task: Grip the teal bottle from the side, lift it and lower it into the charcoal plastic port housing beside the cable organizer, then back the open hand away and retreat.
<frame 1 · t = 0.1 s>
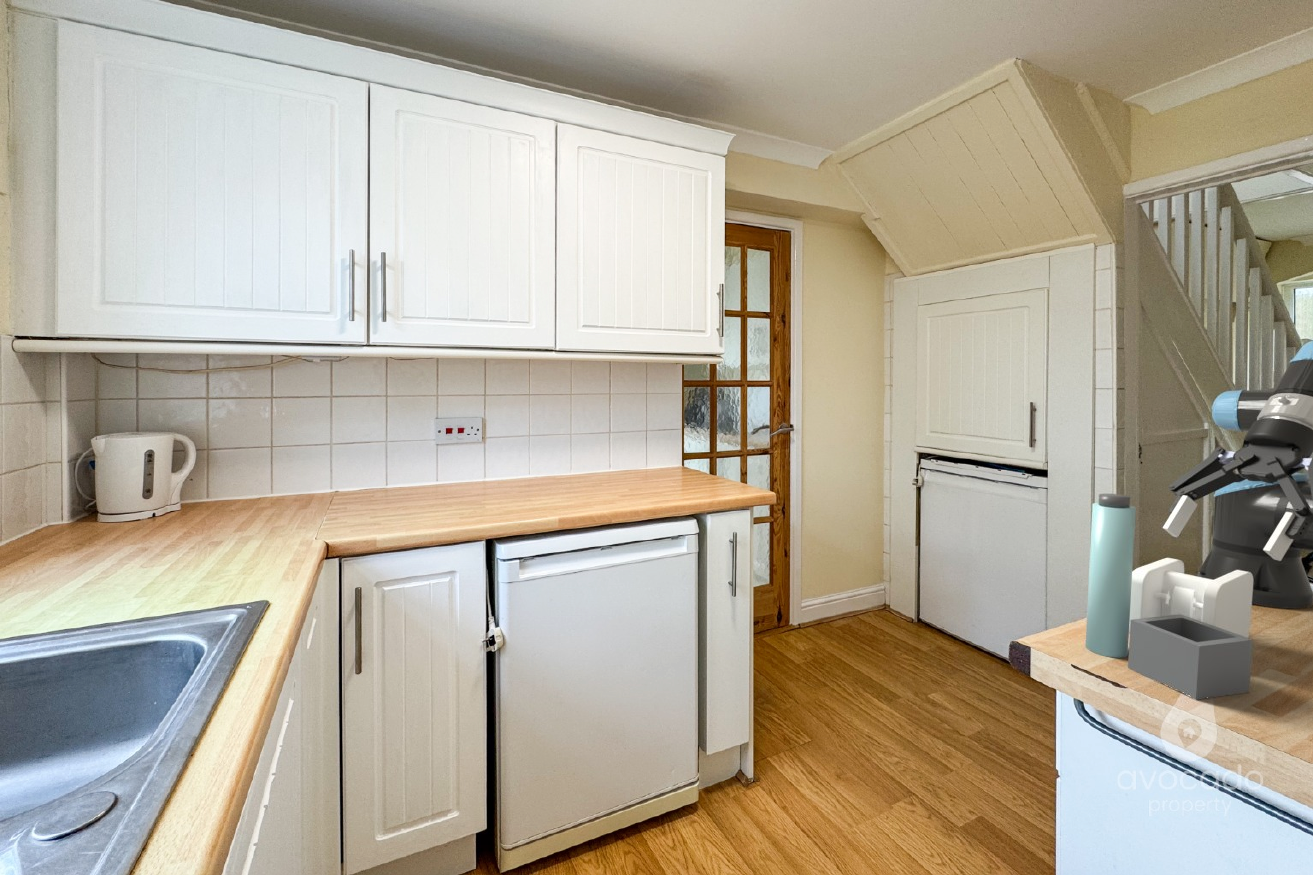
hand: (1216, 543, 89), 15 cm above the table, tool tilted 35°, fingers open, 13 cm apart
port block: (1185, 679, 78), on the table
teal bottle: (1106, 649, 87), on the table
cable organizer: (1185, 643, 89), on the table
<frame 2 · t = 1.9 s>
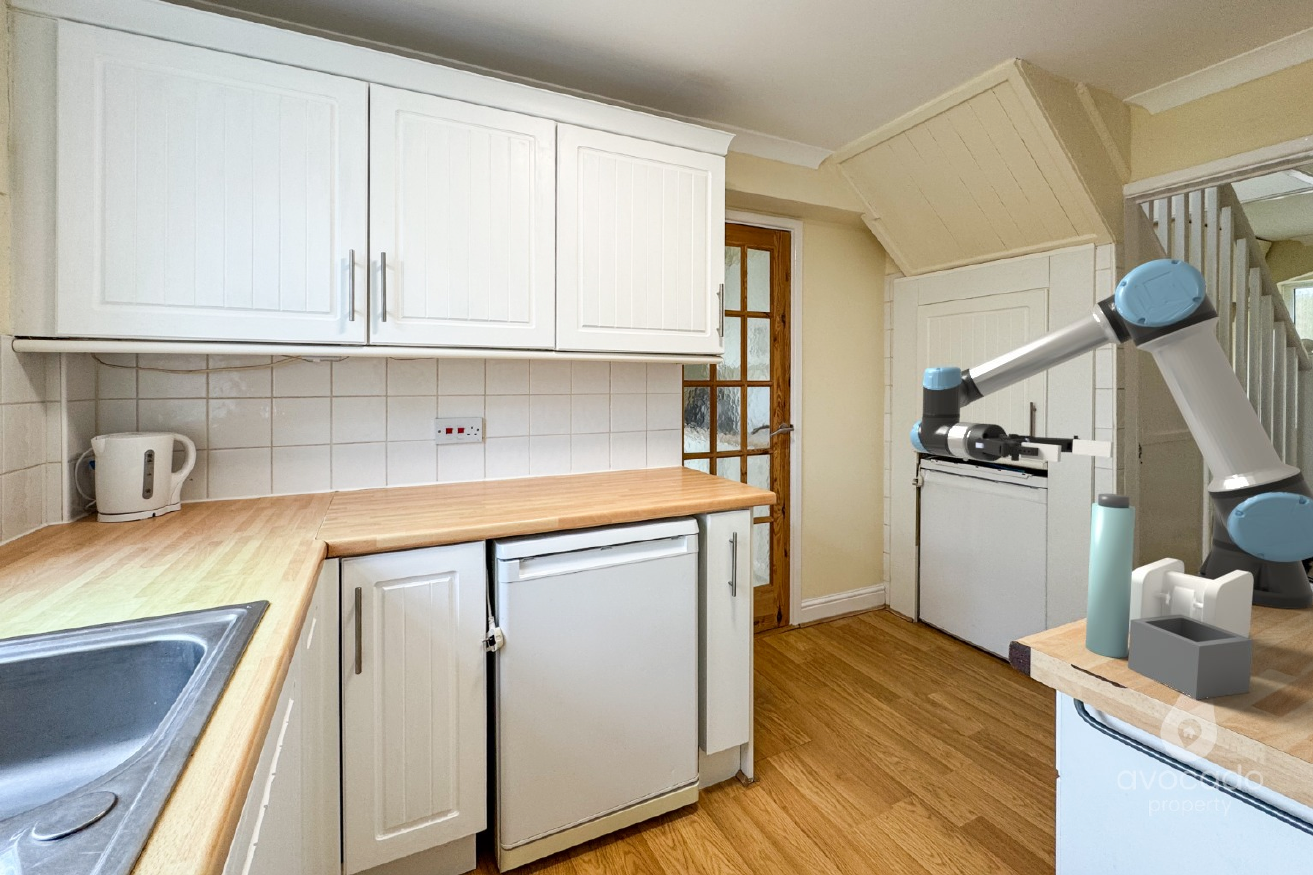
hand: (1086, 451, 99), 28 cm above the table, tool horizontal, fingers open, 13 cm apart
nothing on the table moved.
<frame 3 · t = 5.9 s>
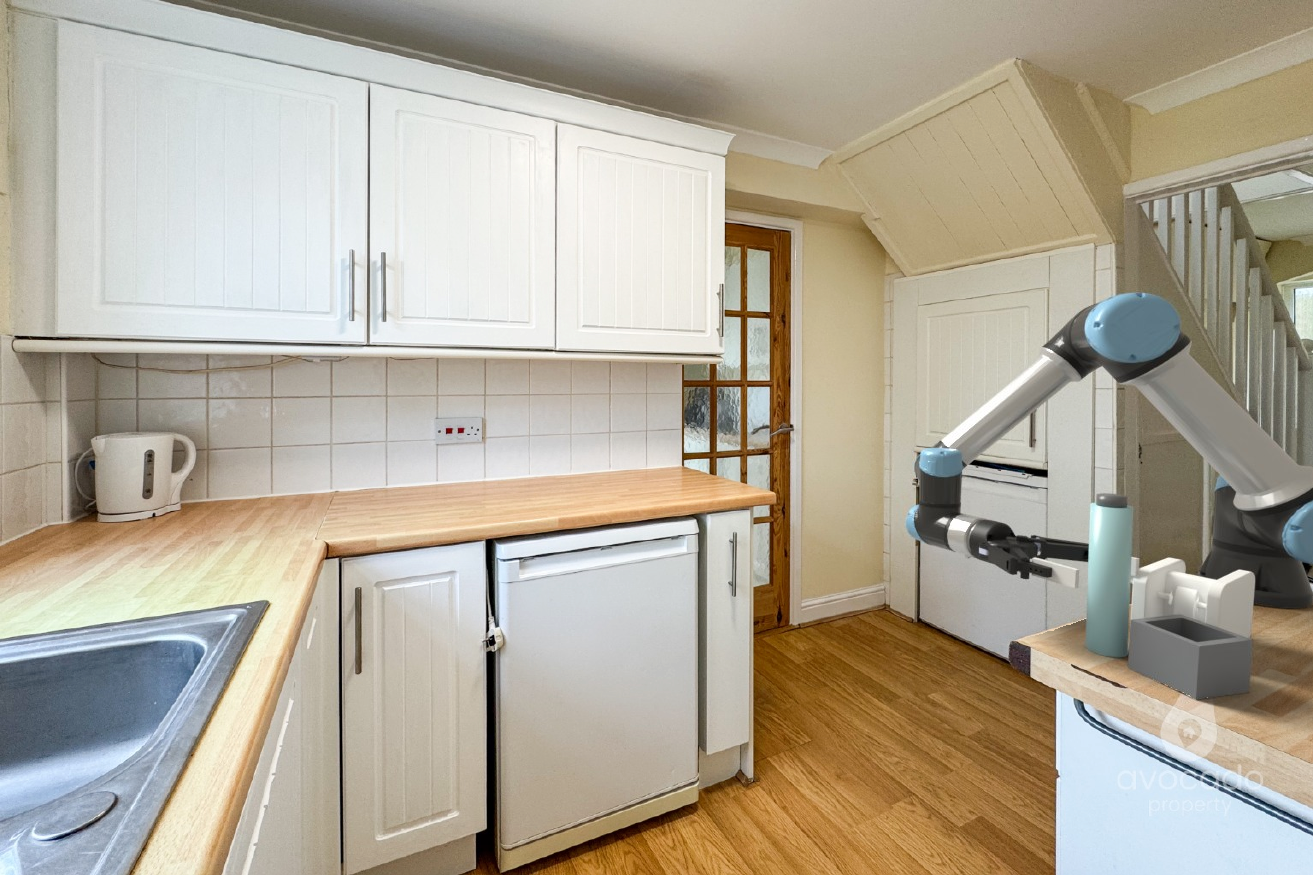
hand: (1108, 573, 85), 12 cm above the table, tool horizontal, fingers open, 13 cm apart
cable organizer: (1187, 644, 89), on the table, touching gripper
everything else where it was.
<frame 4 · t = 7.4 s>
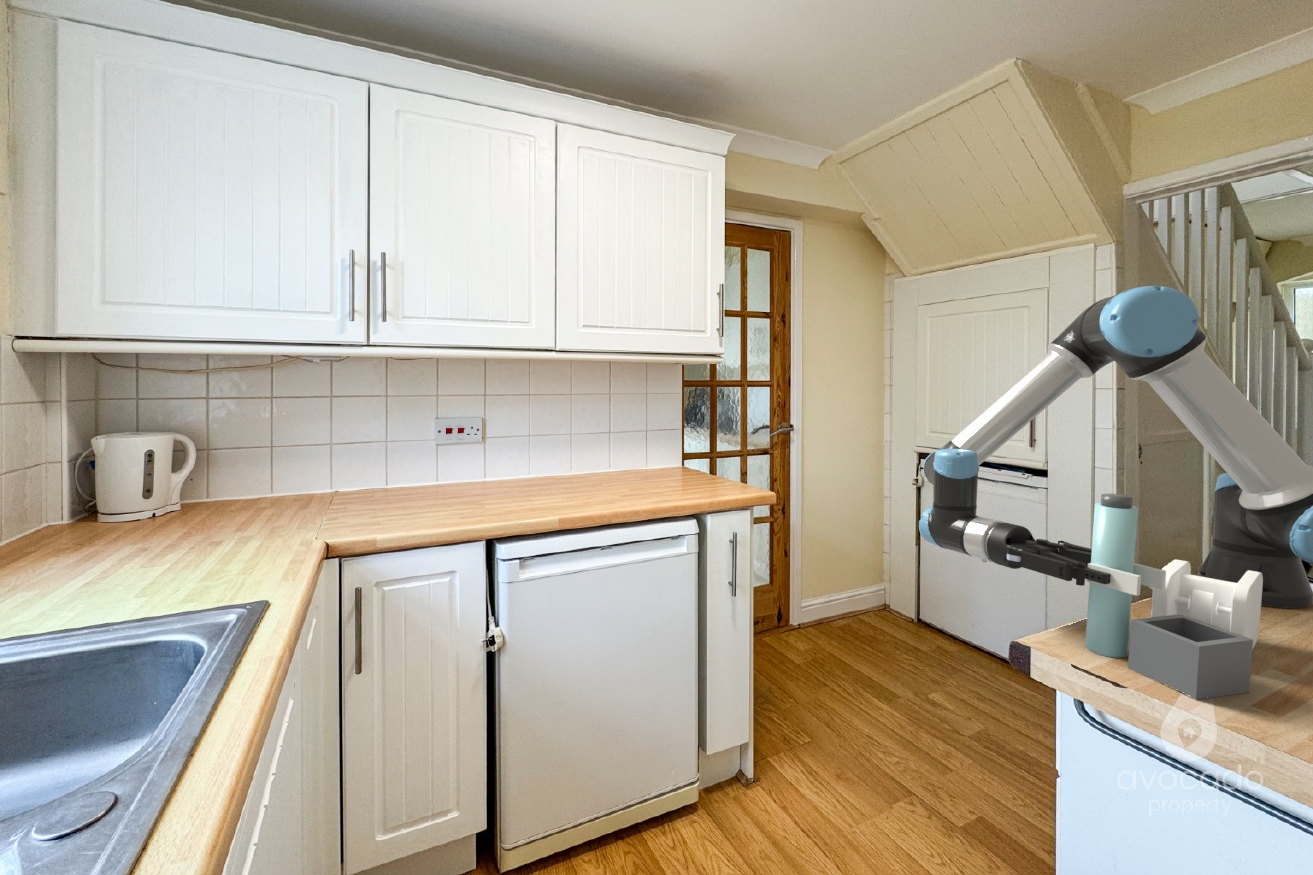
hand: (1151, 582, 81), 12 cm above the table, tool horizontal, fingers closed on teal bottle, 5 cm apart
teal bottle: (1106, 649, 87), on the table, touching gripper
cable organizer: (1201, 647, 88), on the table
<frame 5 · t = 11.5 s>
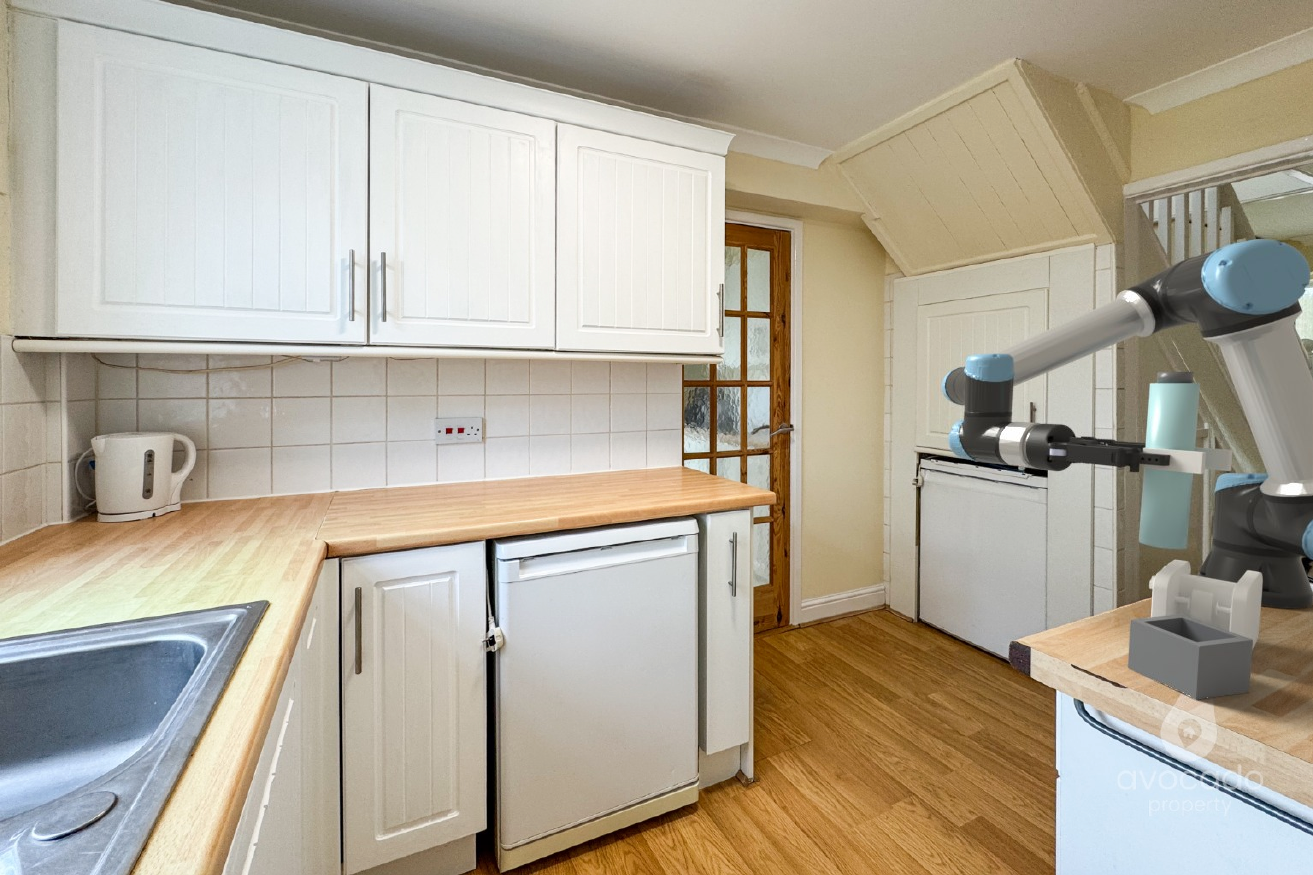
hand: (1216, 461, 73), 30 cm above the table, tool horizontal, fingers closed on teal bottle, 5 cm apart
teal bottle: (1162, 544, 79), point 18 cm above the table, touching gripper
everything else where it was.
when the fingers open (17 cm above the table, at t = 15.5 s): teal bottle drops 5 cm, resting in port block.
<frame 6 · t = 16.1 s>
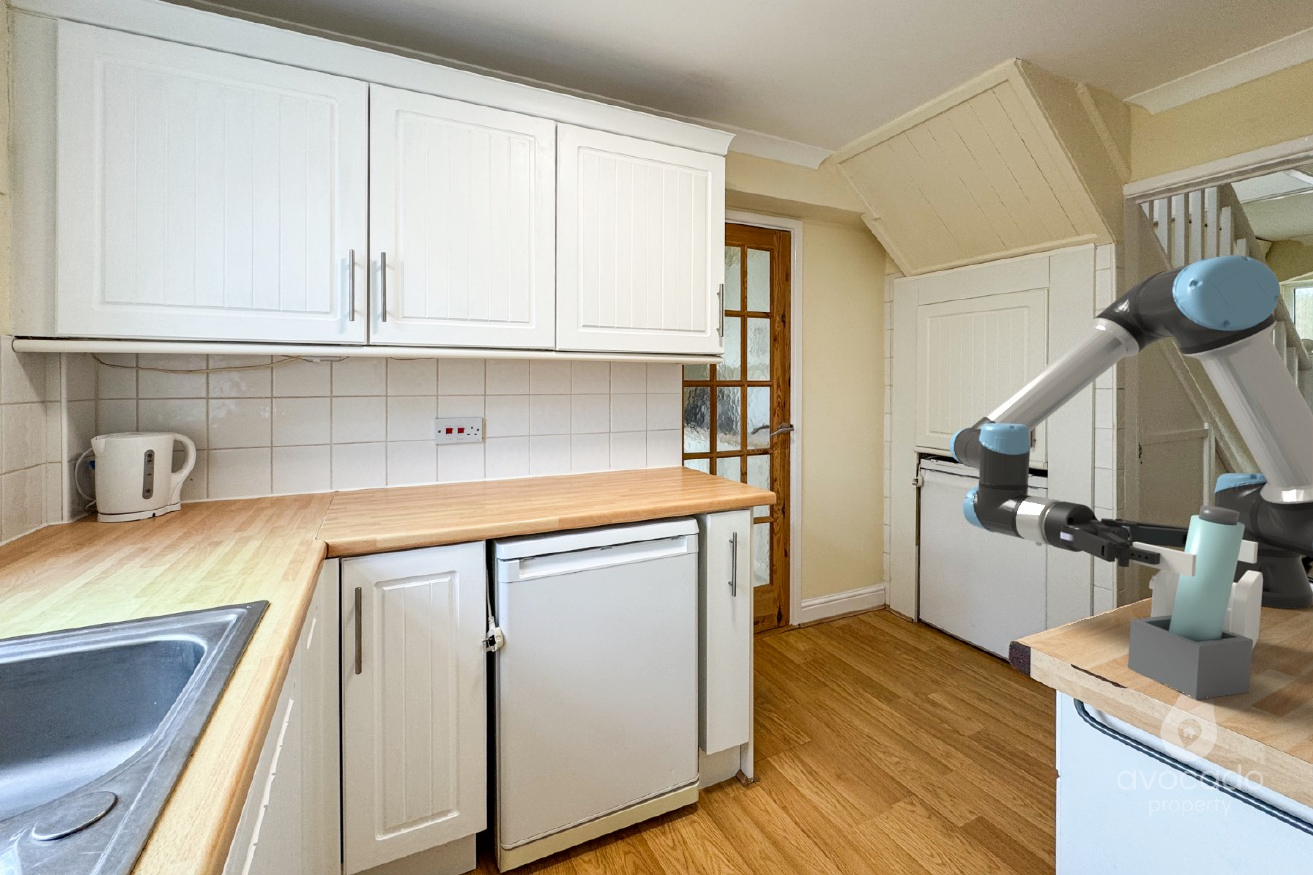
hand: (1226, 559, 73), 18 cm above the table, tool horizontal, fingers open, 13 cm apart
teal bottle: (1185, 677, 78), resting in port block, tilted 5°
everything else where it was.
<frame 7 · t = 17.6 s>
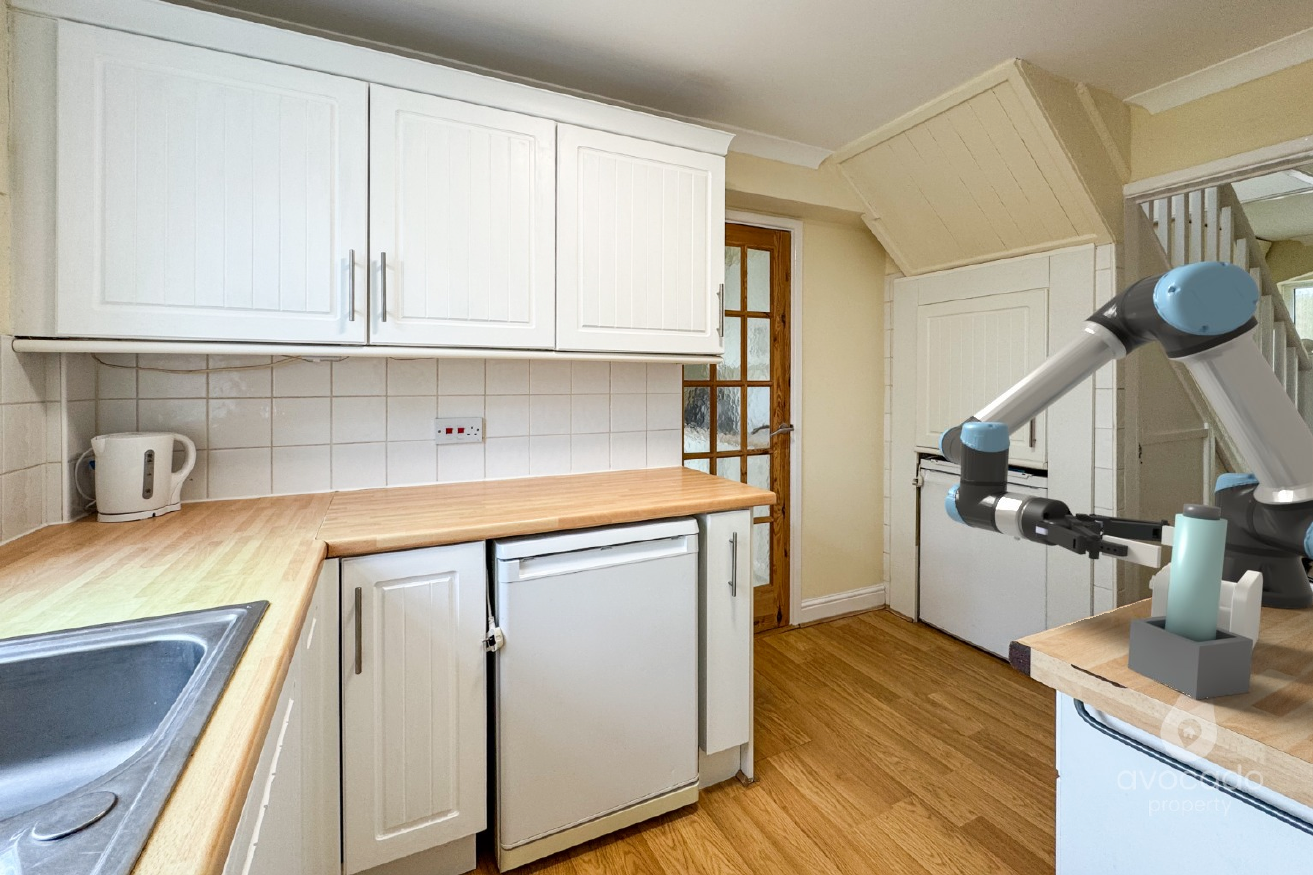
hand: (1190, 551, 76), 18 cm above the table, tool horizontal, fingers open, 13 cm apart
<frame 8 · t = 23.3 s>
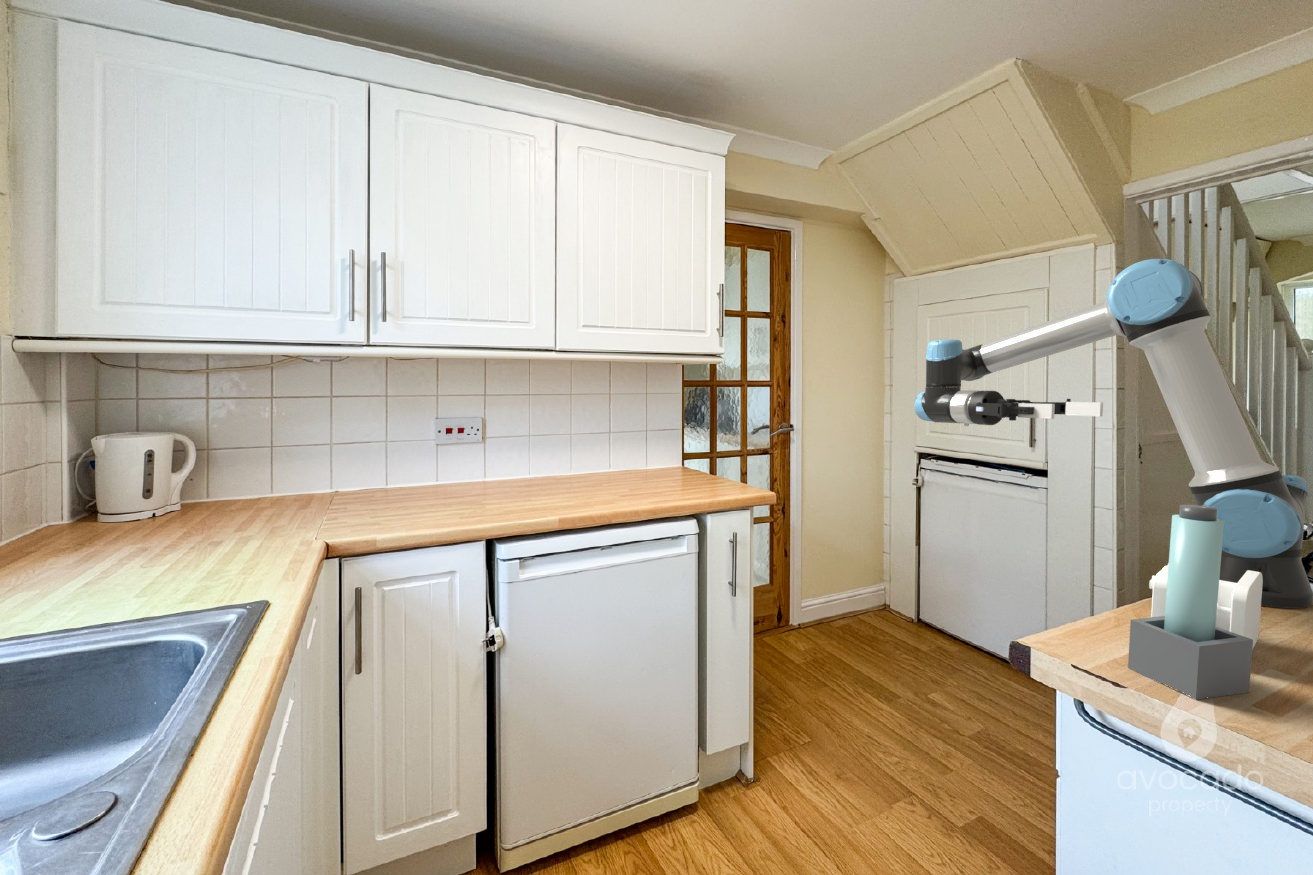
hand: (1078, 410, 108), 35 cm above the table, tool horizontal, fingers open, 13 cm apart
at the end: teal bottle 0.1 cm off-centre on the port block, point 0.0 cm above the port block's base; teal bottle tilted 1°; the gripper is holding nothing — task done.
